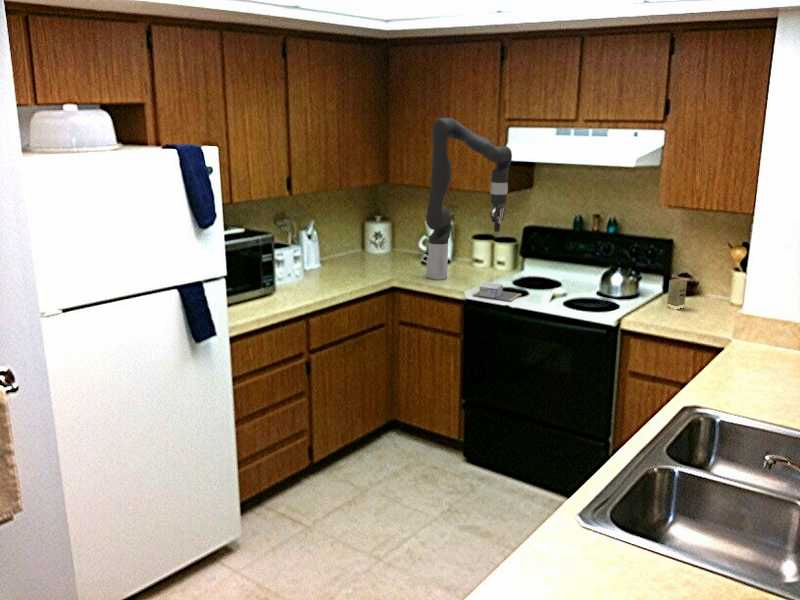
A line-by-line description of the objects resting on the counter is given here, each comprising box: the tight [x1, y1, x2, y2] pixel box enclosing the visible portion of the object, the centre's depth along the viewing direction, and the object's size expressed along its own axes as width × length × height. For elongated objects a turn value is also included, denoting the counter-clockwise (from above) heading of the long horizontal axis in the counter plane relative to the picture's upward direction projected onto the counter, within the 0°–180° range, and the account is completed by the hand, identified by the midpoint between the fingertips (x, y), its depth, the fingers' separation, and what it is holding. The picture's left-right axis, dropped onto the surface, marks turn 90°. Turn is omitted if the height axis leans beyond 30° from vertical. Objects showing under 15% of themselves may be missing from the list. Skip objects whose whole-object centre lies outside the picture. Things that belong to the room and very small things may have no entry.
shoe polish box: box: [666, 278, 688, 306], centre depth 318 cm, size 5×5×12 cm
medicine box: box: [478, 282, 504, 298], centre depth 333 cm, size 8×4×9 cm
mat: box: [472, 290, 522, 303], centre depth 335 cm, size 18×13×1 cm
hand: (497, 231), depth 338 cm, fingers closed
